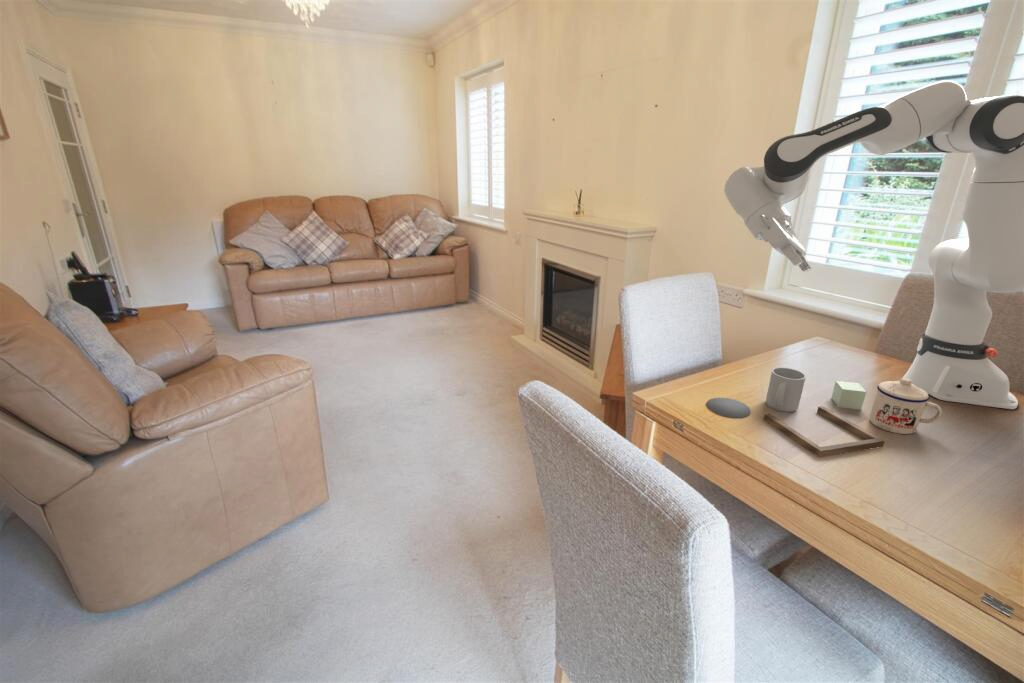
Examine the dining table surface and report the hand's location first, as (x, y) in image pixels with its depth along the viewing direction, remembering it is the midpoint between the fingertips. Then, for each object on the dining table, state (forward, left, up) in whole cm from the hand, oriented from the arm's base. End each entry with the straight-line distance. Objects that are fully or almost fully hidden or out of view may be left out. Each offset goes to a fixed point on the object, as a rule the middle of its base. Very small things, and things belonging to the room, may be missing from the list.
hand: (803, 267), depth 108 cm
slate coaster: (+9, +13, -34) cm, 38 cm away
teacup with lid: (-26, +2, -34) cm, 43 cm away
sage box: (-16, -5, -34) cm, 38 cm away
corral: (-9, +14, -34) cm, 38 cm away
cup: (-2, +6, -34) cm, 35 cm away
